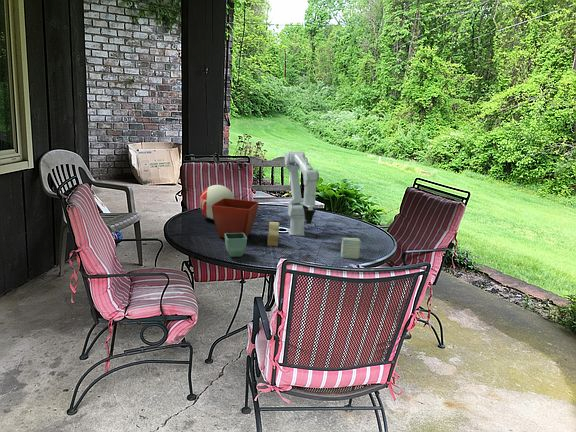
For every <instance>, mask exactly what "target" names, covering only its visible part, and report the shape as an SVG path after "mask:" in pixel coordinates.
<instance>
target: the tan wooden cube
mask: <svg viewBox="0 0 576 432" xmlns="http://www.w3.org/2000/svg"><path fill="white" fill-rule="evenodd" d="M267 246H268V247H278V246H279V235H278V236H269V232H268V233H267Z"/></svg>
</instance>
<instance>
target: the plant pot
mask: <svg viewBox="0 0 576 432" xmlns="http://www.w3.org/2000/svg"><path fill="white" fill-rule="evenodd" d="M258 208H259V201H255V200H254V201H253V200H245V199H237V198H235V199H228V198H223V199H221V200H220V201H218V202H216V203H214V204H213V205H212V212H213V218H214V220H213V222H214V224H215V225H214V226H215V229H216V232H217V235H218V237H219V238H221V239H225V233H244V234H245V236H246V237H247V238H248V236H249V235H250V234H251V233H252V232H251V231H252V229H253V226H254V224H255V220H256V217H257V212H258Z"/></svg>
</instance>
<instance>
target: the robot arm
mask: <svg viewBox="0 0 576 432" xmlns="http://www.w3.org/2000/svg"><path fill="white" fill-rule="evenodd" d="M284 167H285V168H286V169H287V170H288V173H289V183H290V189H291V190H290V191H291V200H290V201H289V202H288V203H287V215H288V216H289V217H290V223H289V229H288V235H289V236H303V237H304V236H305V235H306V234H305V230H304V227H305V222H306V224H309V225H311V224H312V221H313V218H314V215H315V214H316V209H314V207H315V206H316V193H317V183H318V182H319V179H320V173H319V171H318V169H314V168H313V166H312V165H311V164H310V162H308V161H306V152H304V151H303V150H301V151H293V150H291V151H289V150H287V151H285V153H284ZM299 171H300V172H301V174H302V177H303V185H304V186H303V188H304V190H303V198H302V192H301V184H300V175H299Z"/></svg>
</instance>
